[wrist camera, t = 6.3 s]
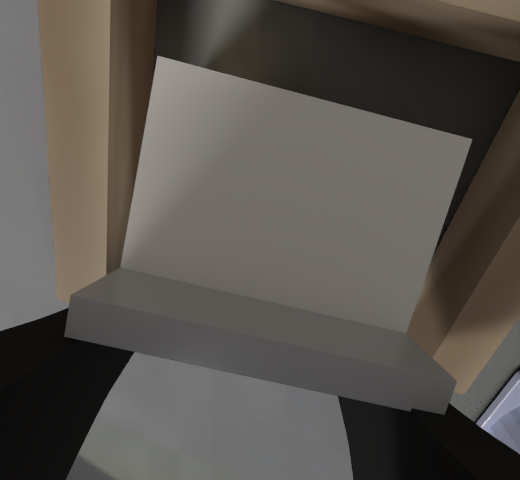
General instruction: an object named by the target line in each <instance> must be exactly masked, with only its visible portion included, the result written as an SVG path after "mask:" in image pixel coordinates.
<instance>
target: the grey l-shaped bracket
mask: <svg viewBox="0 0 520 480" xmlns="http://www.w3.org/2000/svg"><path fill="white" fill-rule="evenodd" d="M471 142H472V139H470V138H466V137H462V136H458V135H454V134H451V133H447V132H443V131H439V130H436V129H432V128H428V127H424V126H421V125H417V124H413V123H409V122H405V121H402V120H398V119H394V118H390V117H387V116H383V115H379V114H375V113H372V112H368V111H364V110H360V109H357V108H353V107H349V106H345V105H341V104H338V103H334V102H330V101H326V100H323V99H319V98H315V97H311V96H308V95H304V94H300V93H296V92H292V91H289V90H285V89H281V88H277V87H274V86H270V85H266V84H262V83H259V82H255V81H251V80H247V79H244V78H240V77H236V76H232V75H228V74H225V73H221V72H217V71H213V70H210V69H206V68H202V67H198V66H195V65H191V64H187V63H183V62H179V61H176V60H172V59H168V58H164V57H161V56H157V61H156V67H155V72H154V78H153V84H152V90H151V95H150V101H149V107H148V112H147V118H146V124H145V129H144V135H143V141H142V146H141V152H140V158H139V163H138V169H137V175H136V180H135V186H134V192H133V198H132V203H131V209H130V215H129V220H128V226H127V232H126V237H125V243H124V249H123V254H122V260H121V266H120V268H118V269H117V270H115V271H113V272H111V273H109V274H108V275H106V276H104V277H102V278H100V279H99V280H97V281H95V282H93V283H91V284H89V285H88V286H86V287H84V288H82V289H80V290H79V291H77V292H75V293H73V294H71V295H70V302H69V309H68V315H67V322H66V328H65V335H64V337H69V338H73V339H78V340H82V341H87V342H92V343H96V344H101V345H106V346H110V347H115V348H119V349H124V350H129V351H133V352H138V353H142V354H147V355H152V356H156V357H161V358H166V359H170V360H175V361H179V362H184V363H189V364H193V365H198V366H202V367H207V368H212V369H216V370H221V371H226V372H230V373H235V374H239V375H244V376H249V377H253V378H258V379H263V380H267V381H272V382H276V383H281V384H286V385H290V386H295V387H299V388H304V389H309V390H313V391H318V392H323V393H327V394H332V395H336V396H341V397H346V398H350V399H355V400H359V401H364V402H369V403H373V404H378V405H383V406H387V407H392V408H396V409H401V410H406V411H410V412H411V409H412V408H413V409H418V410H423V411H428V412H433V413H438V414H443V415H445V412H446V410H447V407H448V404H449V402H450V399H451V396H452V394H453V391H454V389H455V386H456V383H457V381H456V380H455V379H454V378H453V377H452V376H451V375H450V374H449V373H448V372H447V371H446V370H445V369H444V368H443V367H441V366H440V365H439V364H438V363H437V362H436V361H435V360H434V359H433V358H432V357H431V356H430V355H429V354H428V353H427V352H426V351H425V350H423V349H422V348H421V347H420V346H419V345H418V344H417V343H416V342H415V341H414V340H413V339H412V338H411V337H410V336H409V335H408V334H407V330H408V327H409V324H410V321H411V318H412V315H413V312H414V309H415V306H416V303H417V300H418V297H419V295H420V292H421V289H422V286H423V283H424V280H425V277H426V274H427V271H428V268H429V265H430V262H431V259H432V256H433V254H434V251H435V248H436V245H437V242H438V239H439V236H440V233H441V230H442V227H443V224H444V221H445V218H446V215H447V213H448V210H449V207H450V204H451V201H452V198H453V195H454V192H455V189H456V186H457V183H458V180H459V177H460V174H461V172H462V169H463V166H464V163H465V160H466V157H467V154H468V151H469V148H470V145H471Z"/></svg>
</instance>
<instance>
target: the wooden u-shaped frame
mask: <svg viewBox="0 0 520 480" xmlns="http://www.w3.org/2000/svg"><path fill="white" fill-rule="evenodd" d="M275 1H279V2H283V3H287V4H291V5H295V6H299V7H303V8H307V9H311V10H315V11H319V12H322V13H326V14H330V15H334V16H338V17H342V18H346V19H350V20H354V21H358V22H362V23H366V24H370V25H374V26H378V27H382V28H386V29H390V30H394V31H398V32H402V33H406V34H410V35H414V36H418V37H422V38H426V39H430V40H434V41H438V42H442V43H446V44H449V45H453V46H457V47H461V48H465V49H469V50H473V51H477V52H481V53H485V54H489V55H493V56H497V57H501V58H505V59H509V60H513V61H517V62H520V0H275ZM37 2H38V17H39V32H40V48H41V63H42V79H43V94H44V109H45V125H46V140H47V155H48V171H49V186H50V202H51V217H52V232H53V248H54V263H55V279H56V294H57V300H60V301H64V302H70V295H71V294H73V293H75V292H77V291H79V290H80V289H82V288H84V287H86V286H88V285H89V284H91V283H93V282H95V281H97V280H99V279H100V278H102V277H104V276H106V275H108V274H109V273H111V272H113V271H115V270H117V269H118V268H120V266H121V260H122V254H123V249H124V243H125V237H126V232H127V226H128V220H129V215H130V209H131V203H132V198H133V192H134V186H135V180H136V175H137V169H138V163H139V158H140V152H141V146H142V141H143V135H144V129H145V124H146V118H147V112H148V107H149V101H150V95H151V90H152V79H153V64H154V49H155V35H156V20H157V5H158V0H37ZM519 317H520V90H519V92H518V94H517V96H516V97H515V99H514V101H513V103H512V105H511V107H510V109H509V111H508V113H507V115H506V117H505V119H504V121H503V122H502V124H501V126H500V128H499V130H498V132H497V134H496V136H495V138H494V140H493V142H492V144H491V146H490V148H489V149H488V151H487V153H486V155H485V157H484V159H483V161H482V163H481V165H480V167H479V169H478V171H477V173H476V174H475V176H474V178H473V180H472V182H471V184H470V186H469V188H468V190H467V192H466V194H465V196H464V198H463V199H462V201H461V203H460V205H459V207H458V209H457V211H456V213H455V215H454V217H453V219H452V221H451V223H450V225H449V226H448V228H447V230H446V232H445V234H444V236H443V238H442V240H441V242H440V244H439V246H438V248H437V250H436V251H435V253H434V255H433V257H432V259H431V262H430V265H429V268H428V271H427V274H426V277H425V280H424V283H423V286H422V289H421V292H420V295H419V297H418V300H417V303H416V306H415V309H414V312H413V315H412V318H411V321H410V324H409V327H408V330H407V334H408V335H409V336H410V337H411V338H412V339H413V340H414V341H415V342H416V343H417V344H418V345H419V346H420V347H421V348H422V349H423V350H425V351H426V352H427V353H428V354H429V355H430V356H431V357H432V358H433V359H434V360H435V361H436V362H437V363H438V364H439V365H440V366H441V367H443V368H444V369H445V370H446V371H447V372H448V373H449V374H450V375H451V376H452V377H453V378H454V379H455V380H456V381H457V383H456V386H455V389H454V391H453V393H457V394H462V395H464V394H465V392H466V391H467V389H468V388H469V387H470V385H471V384H472V383H473V381H474V380H475V378H476V377H477V376H478V374H479V373H480V371H481V370H482V369H483V367H484V366H485V364H486V363H487V362H488V360H489V359H490V358H491V356H492V355H493V353H494V352H495V351H496V349H497V348H498V346H499V345H500V344H501V342H502V341H503V340H504V338H505V337H506V335H507V334H508V333H509V331H510V330H511V328H512V327H513V326H514V324H515V323H516V321H517V320H518V319H519Z"/></svg>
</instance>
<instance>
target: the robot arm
mask: <svg viewBox="0 0 520 480" xmlns="http://www.w3.org/2000/svg"><path fill="white" fill-rule="evenodd" d="M68 309H69V308H67V309H64V310H62V311H59V312H57V313H54V314H51V315H49V316H46V317H44V318H41V319H38V320H35V321H32V322H28V323H25V324H22V325H19V326H16V327H12V328H9V329H6V330H3V331H0V480H66V478H67V476H68V474H69V471H70V469H71V467H72V465H73V463H74V461H75V459H76V456H77V454H78V452H79V450H80V448H81V446H82V444H83V442H84V440H85V438H86V436H87V434H88V432H89V430H90V428H91V426H92V424H93V422H94V420H95V418H96V416H97V414H98V412H99V410H100V408H101V406H102V404H103V402H104V400H105V398H106V397H107V395H108V393H109V391H110V390H111V388H112V386H113V385H114V383H115V382H116V380H117V379H118V377H119V375H120V374H121V372H122V371H123V369H124V368H125V366H126V364H127V363H128V361H129V360H130V358H131V356H132V355H133V353H134V352H133V351H129V350H124V349H119V348H115V347H110V346H106V345H101V344H96V343H92V342H87V341H82V340H78V339H73V338H69V337H64V335H65V328H66V322H67V315H68ZM338 399H339V403H340V407H341V411H342V416H343V420H344V424H345V428H346V433H347V438H348V443H349V449H350V456H351V464H352V471H353V479H354V480H520V371H518V372H517V373H516V374H515V375H514V376H513V377H512V378H511V380H510V381H509V382H508V383H507V385H506V386H505V387H504V389H503V390H502V391H501V392H500V394H499V395H498V396H497V397H496V399H495V400H494V401H493V402H492V404H491V405H490V406H489V408H488V409H487V410H486V411H485V413H484V414H483V415H482V416H481V418H480V419H479V420H478V421H477V423H474V422H473V421H472V420H470V419H469V418H468V417H466V416H465V415H464V414H462V413H461V412H460V411H458V410H457V409H456V408H455V407H453V406H452V405H451V404H450V403H449V404H448V407H447V410H446V412H445V415H443V414H438V413H433V412H428V411H423V410H418V409H413V408H412V409H411V412H410V411H406V410H401V409H396V408H392V407H387V406H383V405H378V404H373V403H369V402H364V401H359V400H355V399H350V398H346V397H341V396H338Z"/></svg>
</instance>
